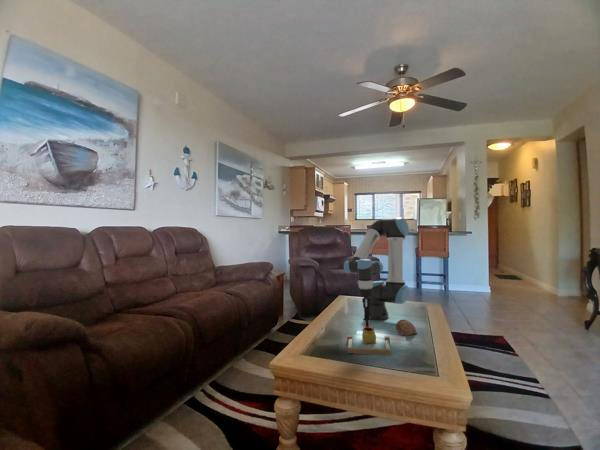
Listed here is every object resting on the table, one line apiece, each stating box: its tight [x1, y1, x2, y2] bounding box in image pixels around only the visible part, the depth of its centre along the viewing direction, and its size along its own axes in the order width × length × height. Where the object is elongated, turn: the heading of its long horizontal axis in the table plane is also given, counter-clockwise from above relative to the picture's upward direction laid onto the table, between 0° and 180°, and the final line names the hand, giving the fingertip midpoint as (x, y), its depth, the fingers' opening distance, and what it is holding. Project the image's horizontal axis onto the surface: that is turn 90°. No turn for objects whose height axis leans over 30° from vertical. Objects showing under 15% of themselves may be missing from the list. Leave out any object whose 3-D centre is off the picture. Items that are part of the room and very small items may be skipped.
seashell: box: [395, 319, 418, 336], centre depth 163 cm, size 10×9×10 cm
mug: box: [361, 326, 377, 345], centre depth 155 cm, size 12×7×7 cm, turn 178°
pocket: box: [346, 334, 391, 356], centre depth 145 cm, size 16×21×3 cm
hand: (367, 332), depth 162 cm, fingers closed
